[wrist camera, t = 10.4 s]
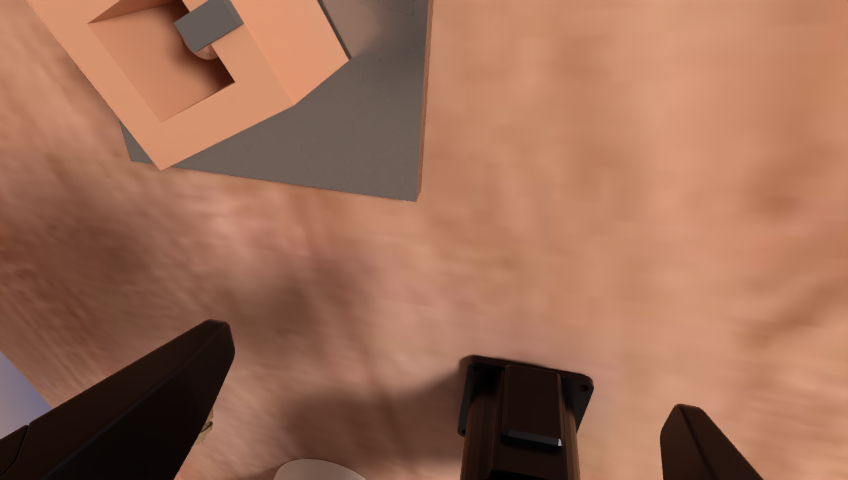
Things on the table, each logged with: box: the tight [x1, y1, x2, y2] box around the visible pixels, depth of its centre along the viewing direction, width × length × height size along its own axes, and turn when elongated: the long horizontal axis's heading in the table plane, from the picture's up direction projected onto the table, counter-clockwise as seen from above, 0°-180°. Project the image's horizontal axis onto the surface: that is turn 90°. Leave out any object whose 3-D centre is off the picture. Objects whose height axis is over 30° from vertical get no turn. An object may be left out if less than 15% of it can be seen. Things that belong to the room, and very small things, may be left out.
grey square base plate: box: [119, 0, 433, 202], centre depth 17 cm, size 13×13×4 cm
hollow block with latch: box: [26, 0, 349, 171], centre depth 15 cm, size 5×5×5 cm
